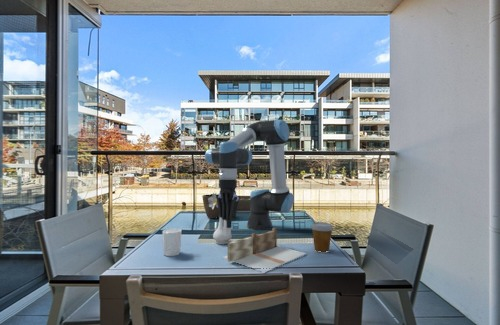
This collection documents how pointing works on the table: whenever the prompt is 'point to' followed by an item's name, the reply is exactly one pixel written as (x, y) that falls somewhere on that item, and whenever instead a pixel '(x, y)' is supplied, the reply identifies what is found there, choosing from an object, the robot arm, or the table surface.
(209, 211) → the plant pot
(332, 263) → the table surface
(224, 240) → the flower vase
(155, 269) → the table surface
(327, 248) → the disposable coffee cup
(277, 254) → the board
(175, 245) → the white cup
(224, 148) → the robot arm
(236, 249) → the hinged fence panel
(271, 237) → the fixed fence section
